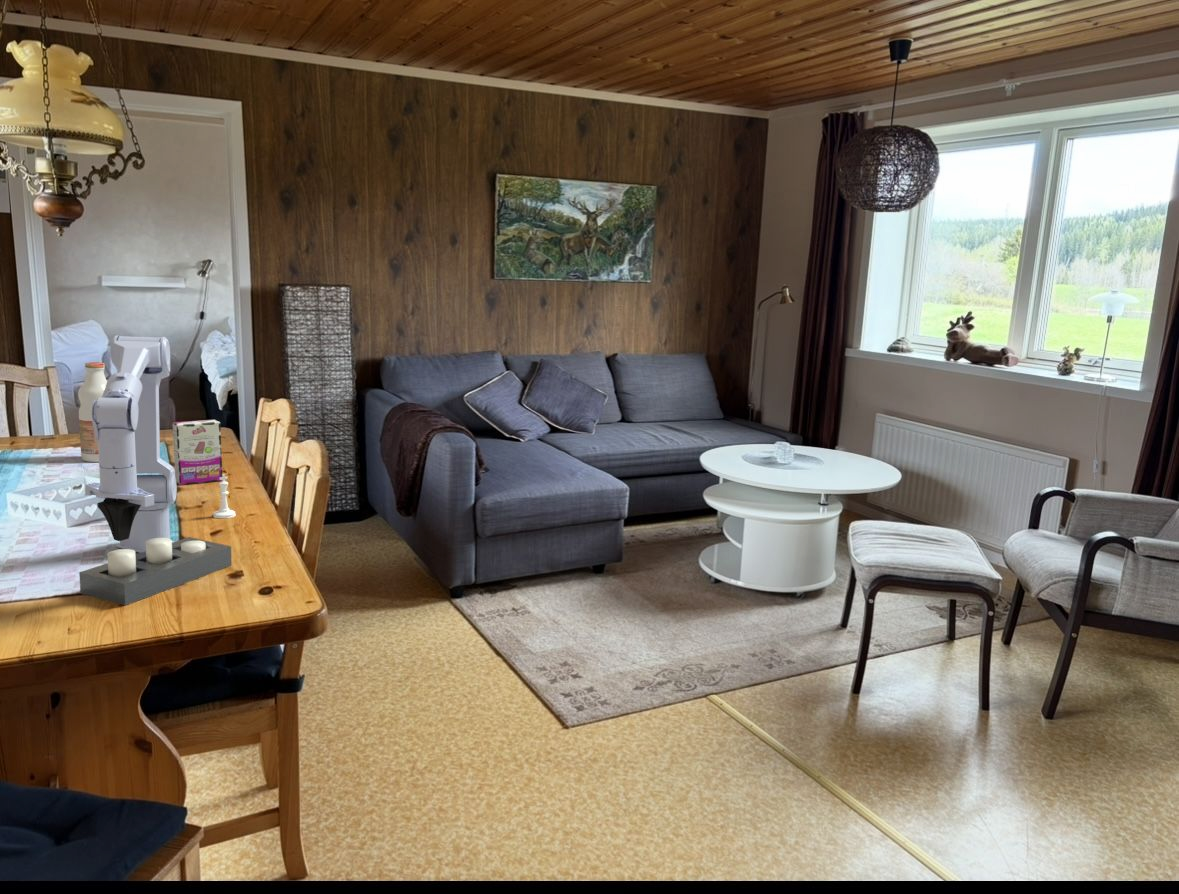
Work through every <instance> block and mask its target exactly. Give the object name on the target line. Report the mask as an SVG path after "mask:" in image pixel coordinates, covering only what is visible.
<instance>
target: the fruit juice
mask: <svg viewBox="0 0 1179 894" xmlns="http://www.w3.org/2000/svg"><path fill="white" fill-rule="evenodd" d="M84 368H85V370H86V373H85V374H86V376H85V378H84V382H83V384H82V385H81V386H80V387H79V389H78V392H77V393H78V394H77V395H78V400H79V402H80V406H79V409H78V422H79V423H78V425H79V440H80V443H79V444H80V456H81V460H82V461H84V462H87V463H99V452H98V441H97V440H96V439H95V431H94V427H93V423H92V404H93V402H94V401H95V400H96V401H98V399H99V398H100V397H102V395H103V392H104V389H105V387H106V384H107V381H108V379H107V378H106V375H105V369H106V364H105V363H104V362H97V361H96V362H95V361H94V362H85V364H84Z"/></svg>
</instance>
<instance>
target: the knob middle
mask: <svg viewBox="0 0 1179 894" xmlns="http://www.w3.org/2000/svg"><path fill="white" fill-rule="evenodd" d="M172 541H173V540H172V539H171V538H170V539H169V538H154V539H150V540H147V541H146V562H147V563H151V564H155V565H160V564H163V563H166V562H169V561H172Z"/></svg>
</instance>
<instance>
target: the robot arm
mask: <svg viewBox="0 0 1179 894" xmlns="http://www.w3.org/2000/svg"><path fill="white" fill-rule="evenodd" d="M109 349H110V360H111V363H112V364H113V366H114V367H115V369H116V371H117V372H115V373H114V374H112V375H111V376H109V377H108V379H107V384H106V387H105V389H104V392H103V395H102V397H100V398H99V399H98V401H96V400H95V401H94V402H93V404H92V423H93V427H94V431H95V439H96V440H97V441H98V452H99V462H98V466H99V469H98V470H99V482H91V483H88V484H84V492H85V495H86V496H89V497H90V496H95V497H96V498H99V499H103V501H100V502H98V503H97V509H99V510H100V512H101V513H102V515H103V516H104V517H105V520H106V522H107V525H108V526H109V530H110V532H111V535H112V537H113V541H116V542H119V543H118V544H116V545H115V546H116V548H118V549H131V550H134V551H135V553H141V552H144V551H146V541H147V540H150V539H154V538H169V539H171V531H170V530H171V528H170V525H171V524H170V505H173V504H174V502H175V501H176V500H177V492H178V491H177V489H178V487H177V484H178V483H177V482H176V478H175V467H174V466H173V465H171V464H170V463H168V462H167V461H165V460H164V459H162V458H161V446H160V445H161V443H160V442H161V440H160V439H161V438H160V434H161V433H160V391H159V390H160V384H161V381H162V379H165V378H168V377H170V373H171V347H170V341H169V340H168V338H167V337H166V336H161V337H159V336H158V337H156V336H127V335H125V336H124V335H122V336H121V335H114V337H112V338H111V341H110V348H109ZM173 542H176V541H174V540H172V543H173Z"/></svg>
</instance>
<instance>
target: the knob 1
mask: <svg viewBox="0 0 1179 894" xmlns="http://www.w3.org/2000/svg"><path fill="white" fill-rule="evenodd" d="M135 554H136V552H135V551H134V550H131V549H122V548H118V549H115V550H112V551H109V552H107V563H108V575H109V576H113V577H117V578H122V577H125V576H128V575H131V574H134V573H136V557H135Z"/></svg>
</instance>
